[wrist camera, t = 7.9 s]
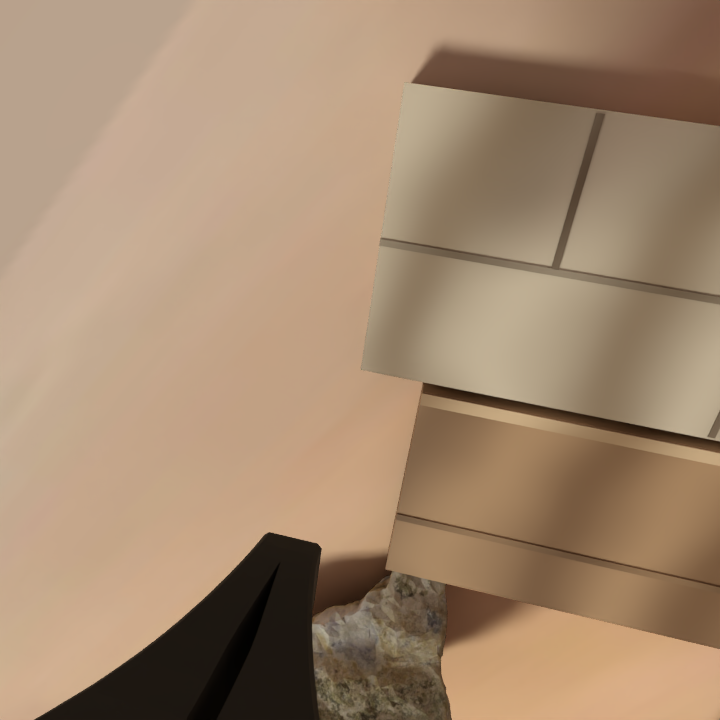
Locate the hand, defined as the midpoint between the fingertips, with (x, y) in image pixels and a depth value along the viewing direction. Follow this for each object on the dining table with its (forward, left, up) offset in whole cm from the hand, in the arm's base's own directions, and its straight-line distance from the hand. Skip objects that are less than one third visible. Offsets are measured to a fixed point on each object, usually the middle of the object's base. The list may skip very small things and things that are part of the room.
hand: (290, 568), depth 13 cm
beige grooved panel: (-10, -6, -10) cm, 16 cm away
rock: (-2, +13, -11) cm, 17 cm away
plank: (-10, +4, -10) cm, 15 cm away
